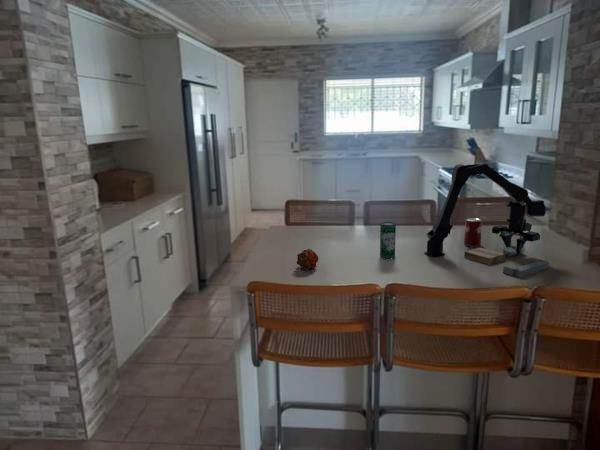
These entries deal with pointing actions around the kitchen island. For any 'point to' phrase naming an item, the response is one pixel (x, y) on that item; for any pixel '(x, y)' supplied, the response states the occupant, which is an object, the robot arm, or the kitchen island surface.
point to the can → (387, 239)
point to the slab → (484, 255)
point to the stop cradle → (526, 268)
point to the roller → (512, 250)
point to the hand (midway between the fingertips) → (513, 252)
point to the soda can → (473, 232)
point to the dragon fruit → (307, 259)
